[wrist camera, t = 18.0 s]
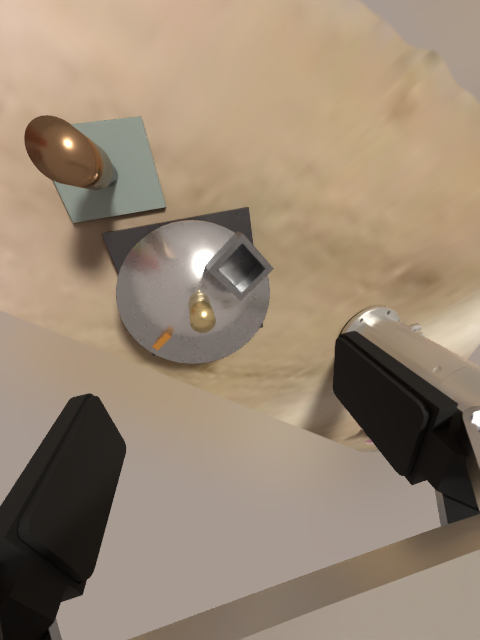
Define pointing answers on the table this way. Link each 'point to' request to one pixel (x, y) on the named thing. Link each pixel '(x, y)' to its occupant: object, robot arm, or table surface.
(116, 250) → the chuck stand
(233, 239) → the chuck disc
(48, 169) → the copper bullet
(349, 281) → the table surface
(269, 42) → the table surface
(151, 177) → the mat
